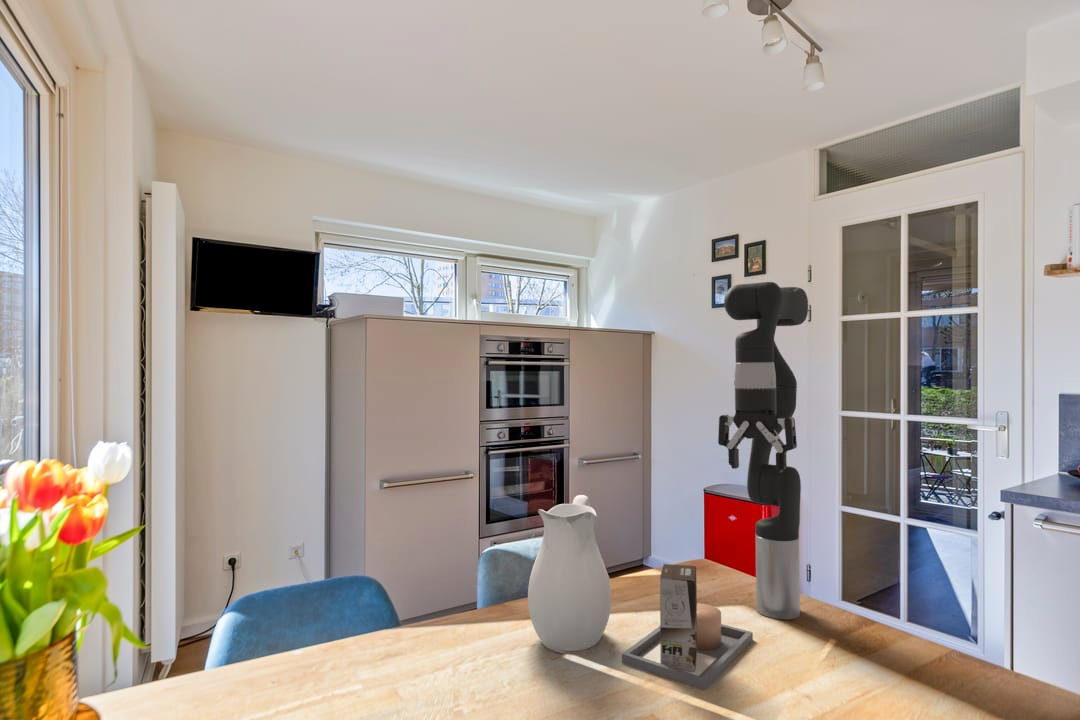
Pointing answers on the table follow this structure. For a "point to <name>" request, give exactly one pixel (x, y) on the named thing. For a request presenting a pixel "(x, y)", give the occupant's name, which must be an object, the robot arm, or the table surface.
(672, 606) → the coffee box
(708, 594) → the table surface
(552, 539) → the pitcher
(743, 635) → the serving tray
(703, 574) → the table surface
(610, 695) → the table surface
